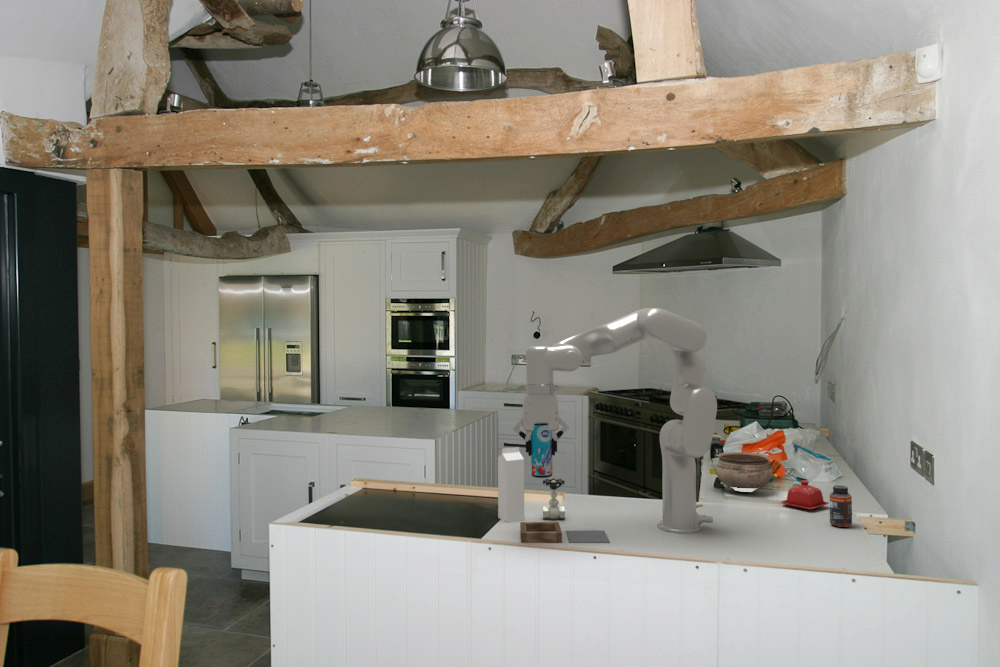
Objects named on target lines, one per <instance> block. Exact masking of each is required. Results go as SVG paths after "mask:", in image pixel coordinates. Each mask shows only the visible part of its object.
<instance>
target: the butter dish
mask: <svg viewBox="0 0 1000 667" xmlns="http://www.w3.org/2000/svg"><path fill="white" fill-rule="evenodd" d="M799 483H800V485H798V484H797V485H795V486H792V487H791V488H789V489H788V491H787V495H786V499H785V500H782V501H780V503H781V504H783V505H787V506H789V507H792V508H797V509H802V510H803V509H804V510H807V511H810V510H814V509H816V508H820V507H823V506H826V505H830V502H828V501H824V496H823V493H822V490H821V489H820V488H818V487H816V486H812V485H809V483H810V482H809V481H808V480H805V479H803V480H800V482H799Z"/></svg>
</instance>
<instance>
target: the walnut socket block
mask: <svg viewBox="0 0 1000 667" xmlns="http://www.w3.org/2000/svg"><path fill="white" fill-rule="evenodd" d="M520 541H521V544H531V543H532V544H563V532H562V528H561V525H560V522H559V521H521V522H520Z"/></svg>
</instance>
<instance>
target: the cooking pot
mask: <svg viewBox="0 0 1000 667" xmlns="http://www.w3.org/2000/svg"><path fill="white" fill-rule="evenodd" d="M717 456H718V458H719V459H718V461H717V463H716V467H715V474H716V476H717V478H718V480H719V481H720V482H721V483H722V484H724V485H725V486H726V485H727V486H726V487H728V486H731V487H737V488H759V487H761V488H763V487H765V486H767V485H768V484H769V483H770V481H771V479H772V477H773V470H772V466H771V464H770V462H769V460H770V458H771V457H770V456H768V455H767V454H762V453H755V452H747V451H745V452H742V451H741V452H740V451H729V452H728V451H727V452H721V453H719V454H717Z"/></svg>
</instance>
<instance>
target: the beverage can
mask: <svg viewBox="0 0 1000 667" xmlns="http://www.w3.org/2000/svg"><path fill="white" fill-rule="evenodd" d="M534 425H535V426H534V430H533V431H532V433H531V436H530V441H531V455H530V473H531V476H532V477H533V478H537V479H538V478H539V479H548V478H550V477H552V476H553V455H552V438H553V436H552V434H551V431H550V430H549V426H548V423H547V424H534Z"/></svg>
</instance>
